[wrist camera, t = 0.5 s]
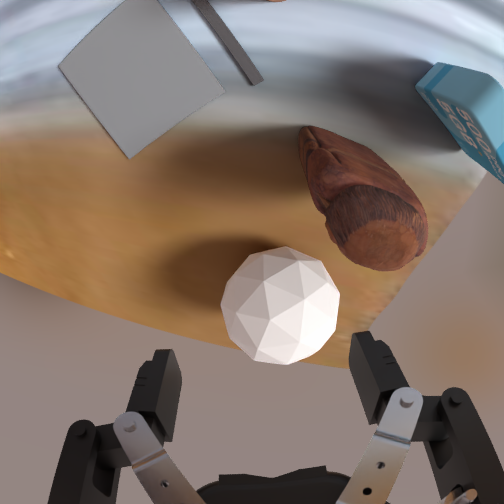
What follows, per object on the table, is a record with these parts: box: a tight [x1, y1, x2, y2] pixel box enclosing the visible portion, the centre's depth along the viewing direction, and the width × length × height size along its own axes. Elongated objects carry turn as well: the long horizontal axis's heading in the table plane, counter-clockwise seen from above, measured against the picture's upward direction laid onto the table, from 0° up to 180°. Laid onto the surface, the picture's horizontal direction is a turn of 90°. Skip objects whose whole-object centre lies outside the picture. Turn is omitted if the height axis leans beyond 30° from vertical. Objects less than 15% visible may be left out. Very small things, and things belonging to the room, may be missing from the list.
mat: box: [59, 0, 264, 159], centre depth 27 cm, size 18×18×1 cm
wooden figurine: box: [298, 126, 428, 271], centre depth 27 cm, size 12×6×18 cm, turn 71°
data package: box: [415, 62, 504, 184], centre depth 23 cm, size 12×4×12 cm, turn 53°
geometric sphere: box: [220, 246, 340, 365], centre depth 38 cm, size 14×15×15 cm
